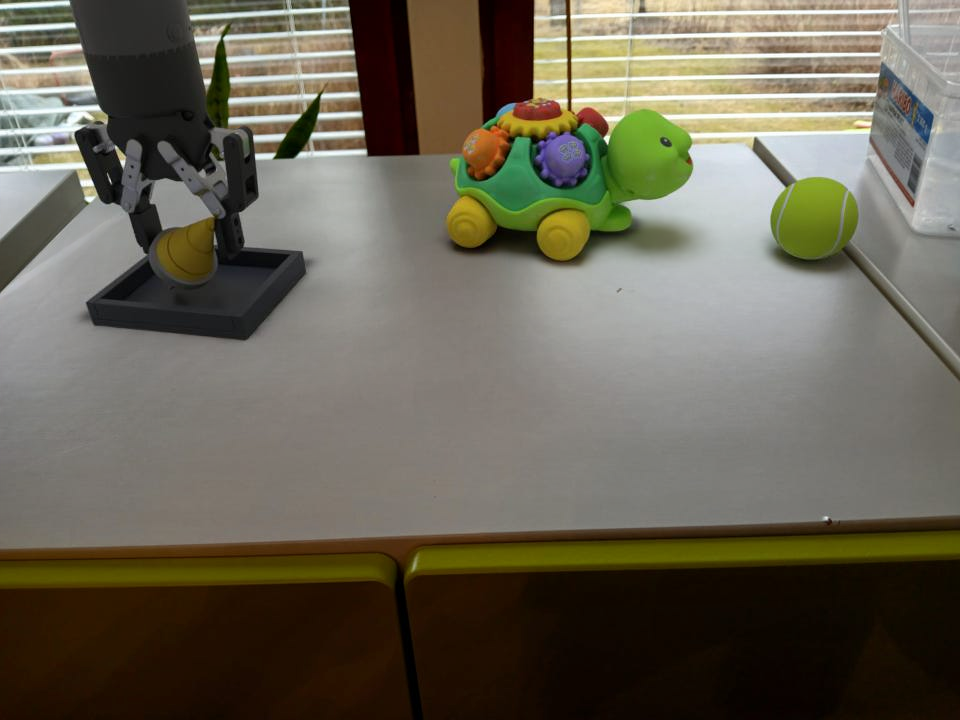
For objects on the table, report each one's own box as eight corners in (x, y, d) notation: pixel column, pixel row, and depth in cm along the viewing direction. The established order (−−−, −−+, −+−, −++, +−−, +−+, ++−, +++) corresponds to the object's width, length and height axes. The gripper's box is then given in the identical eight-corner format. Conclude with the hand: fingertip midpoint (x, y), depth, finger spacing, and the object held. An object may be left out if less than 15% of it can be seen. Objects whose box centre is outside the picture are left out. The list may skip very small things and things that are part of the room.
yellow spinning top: (208, 265, 70) (253, 206, 63) (193, 314, 68) (238, 258, 61) (148, 239, 68) (188, 175, 61) (129, 289, 65) (169, 228, 58)
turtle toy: (670, 281, 67) (685, 144, 60) (418, 248, 74) (408, 122, 68) (696, 206, 80) (711, 87, 74) (480, 184, 87) (477, 74, 81)
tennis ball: (853, 247, 71) (871, 171, 67) (842, 279, 66) (861, 200, 62) (773, 233, 74) (786, 160, 70) (756, 264, 69) (769, 187, 65)
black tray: (92, 324, 64) (84, 302, 63) (170, 261, 73) (164, 240, 72) (246, 339, 61) (241, 316, 60) (306, 272, 71) (302, 250, 70)
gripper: (255, 29, 58) (293, 240, 67) (83, 27, 60) (141, 229, 70) (203, 52, 51) (252, 281, 61) (14, 49, 54) (88, 267, 64)
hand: (193, 252), depth 65 cm, fingers closed on yellow spinning top, 6 cm apart
